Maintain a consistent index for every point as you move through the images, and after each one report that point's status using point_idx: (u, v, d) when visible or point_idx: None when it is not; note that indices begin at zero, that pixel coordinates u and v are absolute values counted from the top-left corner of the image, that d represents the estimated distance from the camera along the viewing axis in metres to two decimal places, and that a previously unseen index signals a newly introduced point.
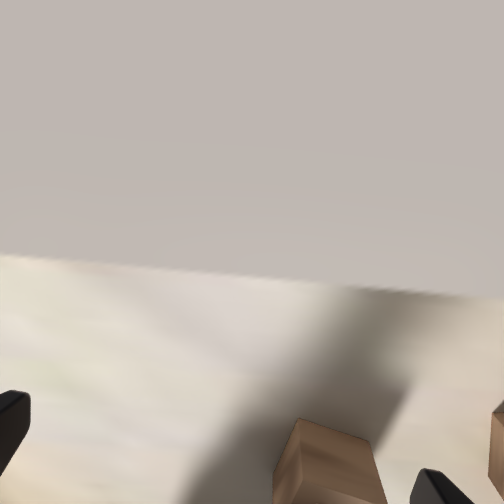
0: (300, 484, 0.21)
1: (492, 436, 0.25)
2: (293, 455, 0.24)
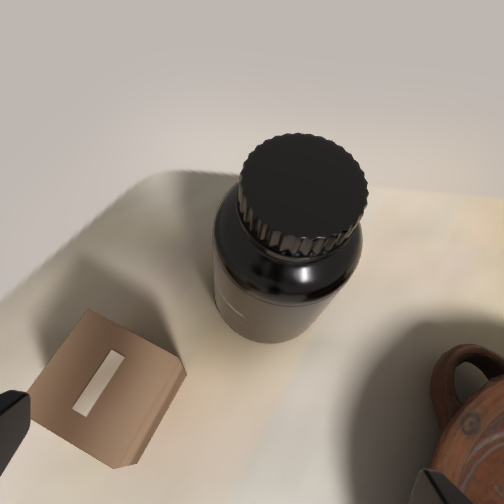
0: None
1: None
2: None
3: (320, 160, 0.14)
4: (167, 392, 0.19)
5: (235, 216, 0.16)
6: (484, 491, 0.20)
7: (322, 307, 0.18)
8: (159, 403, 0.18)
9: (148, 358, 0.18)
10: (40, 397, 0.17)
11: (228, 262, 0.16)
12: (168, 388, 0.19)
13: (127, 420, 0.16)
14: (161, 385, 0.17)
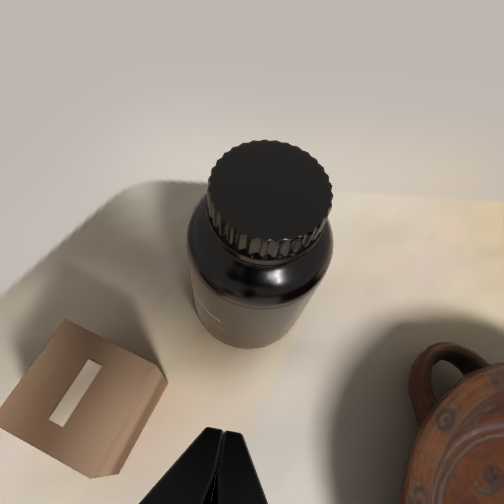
0: None
1: None
2: None
3: (286, 165, 0.15)
4: (146, 400, 0.19)
5: (207, 222, 0.16)
6: (464, 487, 0.20)
7: (297, 309, 0.18)
8: (138, 411, 0.18)
9: (125, 366, 0.18)
10: (16, 409, 0.17)
11: (201, 268, 0.16)
12: (147, 396, 0.19)
13: (104, 428, 0.16)
14: (138, 393, 0.17)
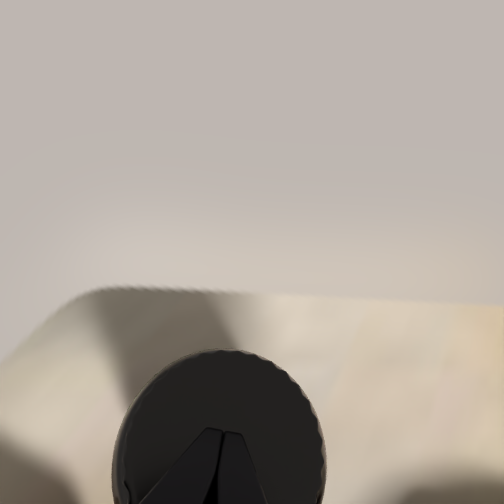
0: None
1: None
2: None
3: (251, 402, 0.10)
4: None
5: None
6: None
7: None
8: None
9: None
10: None
11: None
12: None
13: None
14: None
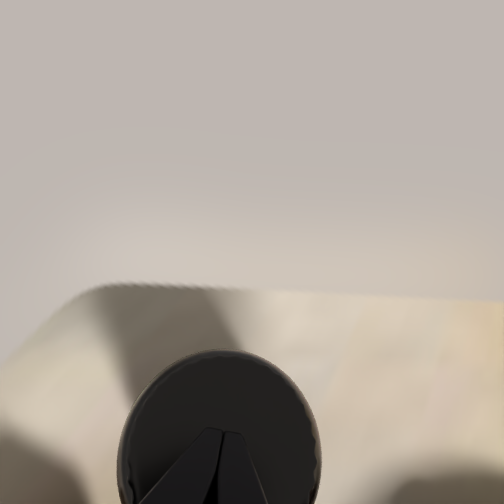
0: None
1: None
2: None
3: (248, 406, 0.10)
4: None
5: None
6: None
7: None
8: None
9: None
10: None
11: None
12: None
13: None
14: None
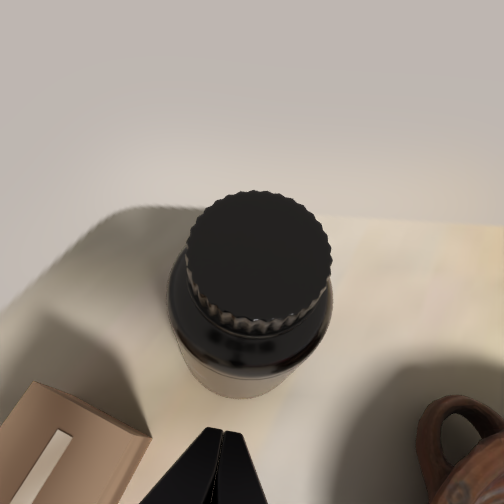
0: None
1: None
2: None
3: (277, 223, 0.13)
4: (125, 469, 0.17)
5: None
6: None
7: (292, 371, 0.16)
8: (115, 484, 0.17)
9: (99, 437, 0.16)
10: None
11: (181, 334, 0.14)
12: (125, 465, 0.17)
13: None
14: (113, 469, 0.15)
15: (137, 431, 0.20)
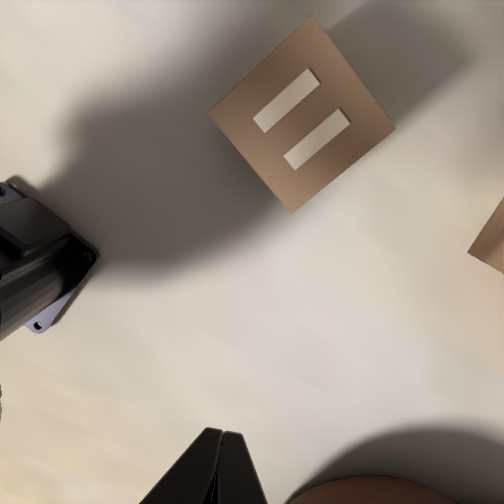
0: (305, 21, 0.13)
1: None
2: None
3: None
4: None
5: None
6: None
7: None
8: None
9: None
10: None
11: None
12: None
13: None
14: None
15: None
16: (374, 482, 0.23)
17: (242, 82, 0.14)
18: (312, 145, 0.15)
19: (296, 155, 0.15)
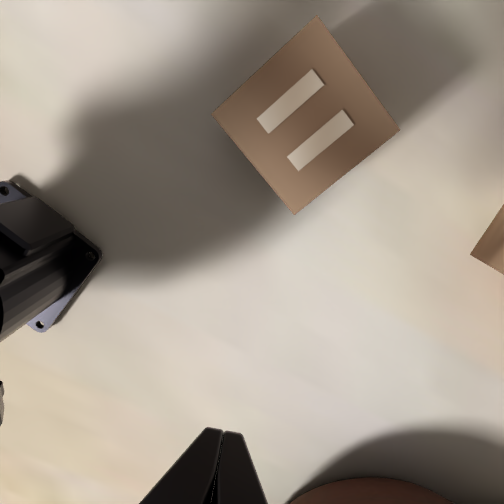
0: (309, 22, 0.13)
1: None
2: None
3: None
4: None
5: None
6: None
7: None
8: None
9: None
10: None
11: None
12: None
13: None
14: None
15: None
16: (375, 484, 0.23)
17: (246, 83, 0.14)
18: (315, 146, 0.15)
19: (299, 156, 0.15)
